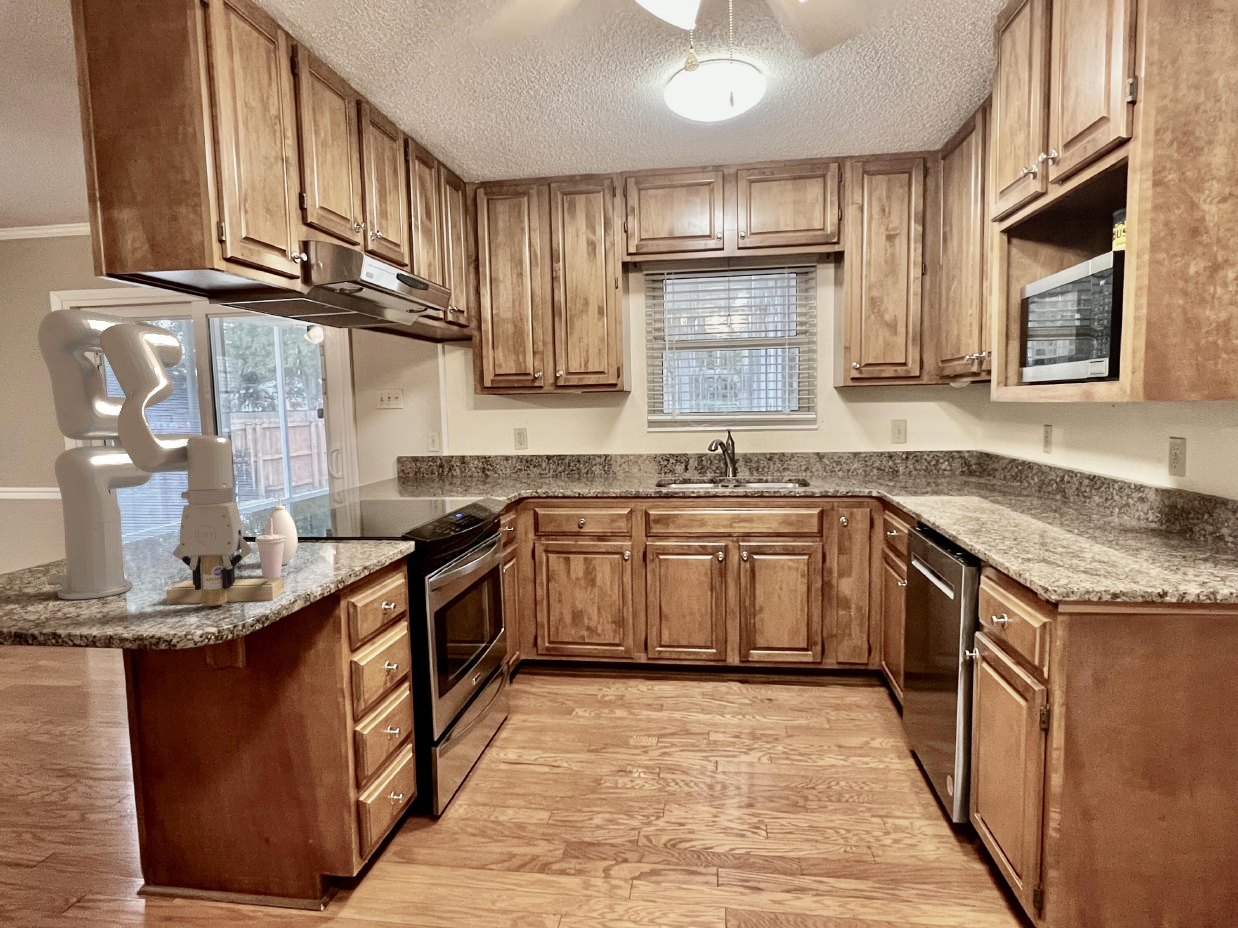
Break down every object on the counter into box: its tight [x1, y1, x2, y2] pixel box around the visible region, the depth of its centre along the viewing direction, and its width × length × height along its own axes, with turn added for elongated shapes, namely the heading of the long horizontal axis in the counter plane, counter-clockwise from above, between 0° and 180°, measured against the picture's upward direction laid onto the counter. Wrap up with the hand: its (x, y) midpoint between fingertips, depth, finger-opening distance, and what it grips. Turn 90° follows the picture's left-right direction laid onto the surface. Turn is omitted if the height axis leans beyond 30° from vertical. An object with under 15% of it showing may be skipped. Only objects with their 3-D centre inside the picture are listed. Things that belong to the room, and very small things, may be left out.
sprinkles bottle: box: [200, 555, 228, 607], centre depth 130 cm, size 5×5×13 cm
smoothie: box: [255, 518, 286, 579], centre depth 155 cm, size 6×6×14 cm
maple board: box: [166, 577, 285, 605], centre depth 137 cm, size 20×7×3 cm, turn 100°
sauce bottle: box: [263, 496, 299, 566], centre depth 167 cm, size 8×8×18 cm
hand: (214, 586), depth 130 cm, fingers closed on sprinkles bottle, 4 cm apart
